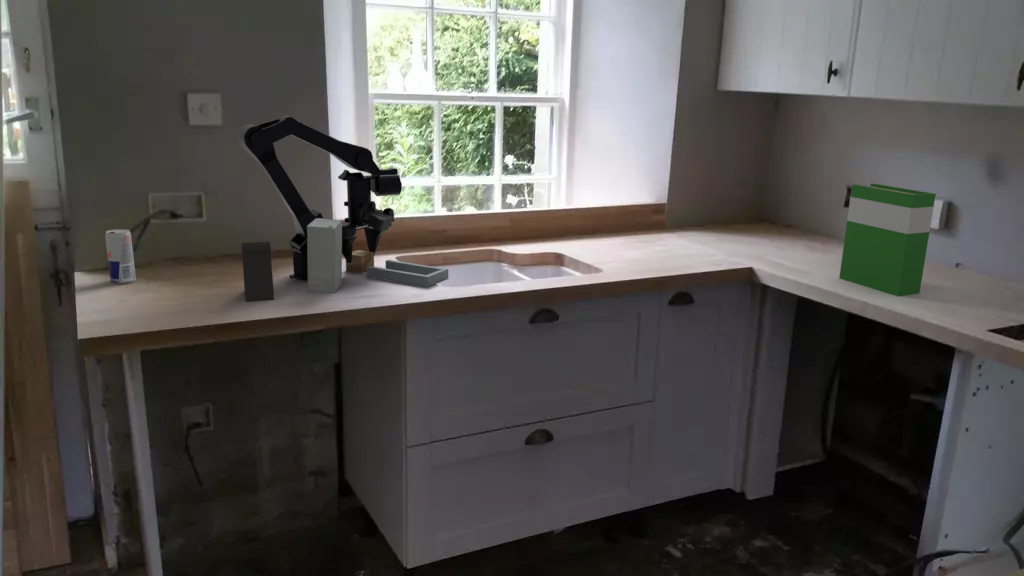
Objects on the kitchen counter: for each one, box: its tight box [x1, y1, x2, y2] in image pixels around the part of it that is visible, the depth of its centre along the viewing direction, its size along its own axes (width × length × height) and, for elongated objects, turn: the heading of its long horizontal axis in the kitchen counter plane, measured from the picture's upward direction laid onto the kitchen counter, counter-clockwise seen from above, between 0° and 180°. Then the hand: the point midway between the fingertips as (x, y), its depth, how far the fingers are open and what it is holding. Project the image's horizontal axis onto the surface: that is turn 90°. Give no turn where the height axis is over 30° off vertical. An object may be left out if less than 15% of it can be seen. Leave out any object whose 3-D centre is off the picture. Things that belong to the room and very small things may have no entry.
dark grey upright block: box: [240, 241, 275, 303], centre depth 175 cm, size 9×6×12 cm, turn 19°
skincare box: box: [307, 218, 343, 294], centre depth 181 cm, size 8×7×16 cm
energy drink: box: [104, 228, 137, 285], centre depth 184 cm, size 5×5×12 cm
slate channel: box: [365, 259, 449, 288], centre depth 194 cm, size 9×18×2 cm, turn 62°
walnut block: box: [345, 249, 375, 274], centre depth 200 cm, size 5×5×4 cm
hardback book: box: [839, 182, 937, 297], centre depth 193 cm, size 18×7×24 cm, turn 25°
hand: (361, 259), depth 199 cm, fingers open, 9 cm apart
